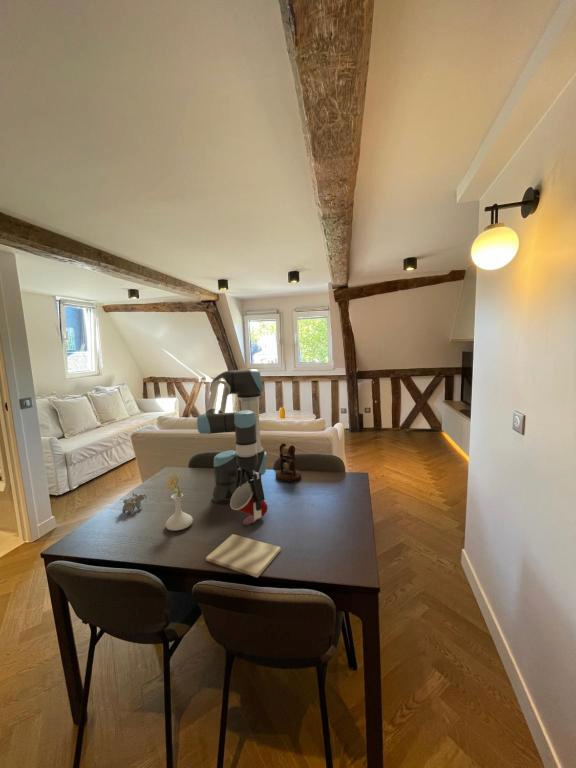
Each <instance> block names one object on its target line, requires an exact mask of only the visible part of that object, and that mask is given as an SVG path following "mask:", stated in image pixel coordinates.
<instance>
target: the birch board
mask: <svg viewBox="0 0 576 768" xmlns="http://www.w3.org/2000/svg"><path fill="white" fill-rule="evenodd" d="M281 551H282V550H281V546H278V545H274V544H270V543H266V542H262V541H260V540H256V539H252V538H249V537H246V536H241V535H237V534H233V533H232V534H231V535H230V536H229V537H227V538H226V539H225V540H224V541H223V542H222V543H221V544H219V545H218V546H217V547H216V548H214V550H213V551H211V552H210V553H209V554H208V555H207V556H206V557H205V561H206V562H210V563H212V564H216V565H217V566H218V565H219V566H222V567H224V568H228V569H231V570H234V571H236V572H240V573H243V574H245V575H249V576H252V577H254V578H259V577H260V576H261V575H262V573H263V572H264V571H265V569H267V567H268V566H269V565H270V564H271V562H272V561H273V560H274V559H275V558H276V557H277V556H278V554H279V553H280V552H281Z"/></svg>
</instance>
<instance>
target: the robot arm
mask: <svg viewBox="0 0 576 768" xmlns="http://www.w3.org/2000/svg"><path fill="white" fill-rule="evenodd" d="M262 381H263V380H262V376H261V372H260V370H259V369H255V368H254V369H251V368H250V369H238V370H237V369H236V370H227V371H223V372H221V373H220V374H218V375H217V376H215V377H214V378H213V380H212V381H211V383H210V385H209V386H210V387H209V392H210V395H209V399H208V402H207V407H206V409H205V410H206V411H205V413H203V414H199V415H198V416H197V420H196V426H197V432H198V433H199V434H204V435H211V434H224V433H235V434H234V436H235V450H233V449H231V450H230V449H229V450H225V451H224V450H223V451H221V452H219V453H217V454H216V455H215V456H214V457H213V468H214V470H213V472H214V488H213V492H212V500H213V502H214V503H215V504H223V505H225V504H230V500H231V497H232V495H233V493H234V492H235V490H236V489H237V488H238V487H239V486H240V487H241V486H242V485H243V484H244V483H249V484H250V488H251V491H252V492H253V498H254V501H253V510H254V519H255V520H256V521H257V519H258V518H262V517H263V516H261V501H265V493H264V487H263V482H262V476H264V475H265V473H266V470H267V462H268V461H267V459H268V458H267V457H268V452H267V451H265V450H264V449H265V448H264V447H263V446H262V445H261V432H260V414H259V413H260V412H259V410H260V409H259V399H260V397H262V394H261V393H264V388H263V387H264V386H263V382H262ZM229 395H237V399H238V400H239V401H240V407H241V408H240V410H239V411H235V412H226V408H227V402H228V401H227V400H228V396H229ZM258 520H259V519H258Z"/></svg>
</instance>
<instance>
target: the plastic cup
mask: <svg viewBox="0 0 576 768" xmlns="http://www.w3.org/2000/svg"><path fill="white" fill-rule="evenodd" d="M253 501H254V498H253V492H252V491H251V488H250V484H249V483H248V482H247V483H244V484H243V485H242V486H241V487H240V486H239V487H238V488H237V489H236V490H235V492H234V493H233V495H232V497H231V500H230V503H229V506H230V509H232V510H233V511H239V512H242V513H244V514H246V515H247V514H248V516H249V515H253V516H254V510H253ZM267 511H268V504H267V502H266V501H265V500H264V501H261V516H262V517H264V516H265V515H266V514H267Z"/></svg>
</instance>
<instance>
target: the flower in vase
mask: <svg viewBox="0 0 576 768" xmlns="http://www.w3.org/2000/svg"><path fill="white" fill-rule="evenodd" d="M179 478H180V477H179V475H178V473H177V472H175V473H174V472H172V473H171V474H170V476H168V479H167V482H166V491H167V492H168V493H170V492H174V493H173V494H172V495H171V496H170V498H171V499H172V500H173V503H174V509H175V510H174V511H175V512H174V513H173V514H172V515H171V516H170V517H169V518H168V519H167V520H166V522H165V528H166V529H167V530H169V531H175V532H176V531H181V530H184V529H187V528H189V527H190V526H191V525H192V523H193V522H194V518H193V516H192V515H190V514H188V513H186V512H185V511H182V505H181V504H182V499H183V496H184V494H183V493H182V492H181V491H182V490H180V488H179V486H178V485H179Z"/></svg>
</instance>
